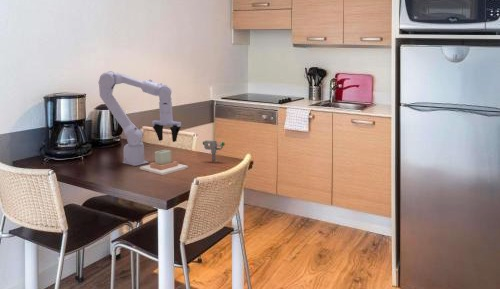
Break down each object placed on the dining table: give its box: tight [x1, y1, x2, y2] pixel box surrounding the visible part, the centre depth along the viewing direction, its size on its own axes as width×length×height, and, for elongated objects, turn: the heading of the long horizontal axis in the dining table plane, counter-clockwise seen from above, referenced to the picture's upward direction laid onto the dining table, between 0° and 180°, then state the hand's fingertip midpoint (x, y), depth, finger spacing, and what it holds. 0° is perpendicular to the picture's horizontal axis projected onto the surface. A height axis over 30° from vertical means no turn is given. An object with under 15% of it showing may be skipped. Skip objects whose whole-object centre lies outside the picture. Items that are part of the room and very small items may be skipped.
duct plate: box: [139, 159, 189, 176], centre depth 202 cm, size 15×15×3 cm
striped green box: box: [154, 149, 172, 165], centre depth 201 cm, size 6×4×7 cm, turn 142°
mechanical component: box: [202, 140, 226, 163], centre depth 214 cm, size 3×10×10 cm, turn 78°
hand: (167, 140), depth 211 cm, fingers open, 7 cm apart
